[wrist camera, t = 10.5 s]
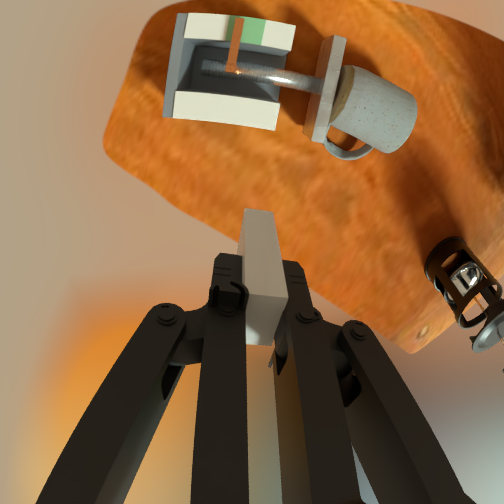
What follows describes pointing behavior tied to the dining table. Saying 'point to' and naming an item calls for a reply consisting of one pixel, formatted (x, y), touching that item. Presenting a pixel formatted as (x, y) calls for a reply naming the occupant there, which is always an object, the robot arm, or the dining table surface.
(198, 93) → the grey bracket housing
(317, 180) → the dining table surface
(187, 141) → the dining table surface
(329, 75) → the plunger
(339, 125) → the ceramic mug
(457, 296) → the french press
